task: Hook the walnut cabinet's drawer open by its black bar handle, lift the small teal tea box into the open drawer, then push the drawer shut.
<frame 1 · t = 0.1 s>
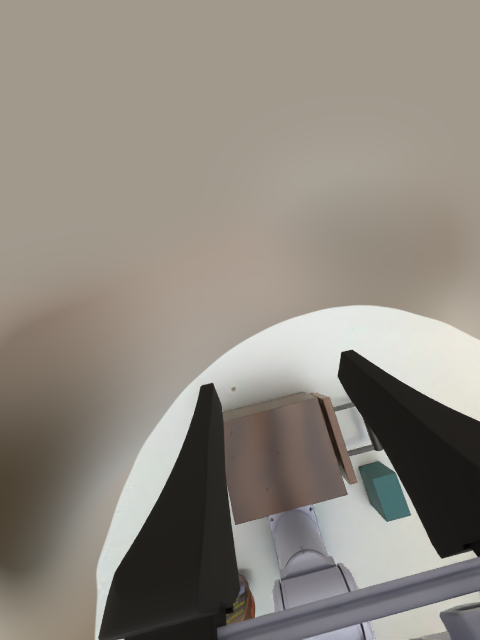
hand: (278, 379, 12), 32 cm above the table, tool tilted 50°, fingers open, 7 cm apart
drawer: (309, 438, 36), point 4 cm above the table, slide at 1.0 cm
tea box: (375, 482, 38), on the table
tin: (213, 599, 35), on the table
cabinet: (271, 439, 40), on the table
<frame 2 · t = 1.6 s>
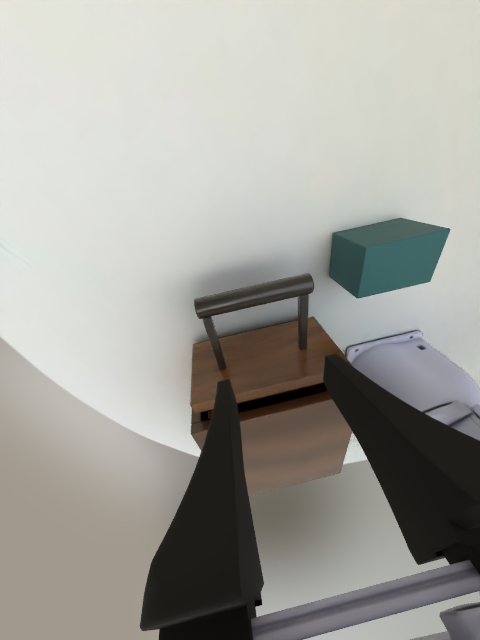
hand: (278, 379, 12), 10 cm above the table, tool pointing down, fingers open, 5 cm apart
drawer: (266, 384, 21), point 4 cm above the table, slide at 1.0 cm
tea box: (363, 248, 19), on the table
cabinet: (262, 387, 28), on the table
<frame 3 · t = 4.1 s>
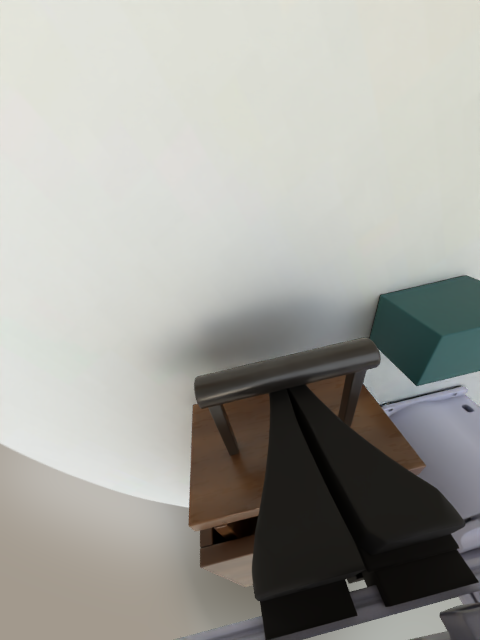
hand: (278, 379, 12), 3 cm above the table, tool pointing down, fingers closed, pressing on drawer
drawer: (289, 458, 16), point 4 cm above the table, slide at 3.0 cm, touching gripper
tea box: (414, 309, 15), on the table
cabinet: (278, 447, 24), on the table
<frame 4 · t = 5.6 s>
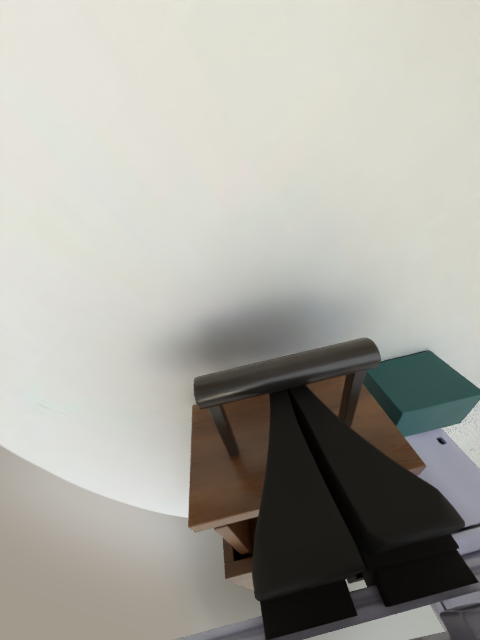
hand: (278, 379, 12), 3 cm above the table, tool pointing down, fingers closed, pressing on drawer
drawer: (289, 458, 16), point 4 cm above the table, slide at 10.0 cm, touching gripper
tea box: (390, 373, 19), on the table
cabinet: (281, 470, 28), on the table
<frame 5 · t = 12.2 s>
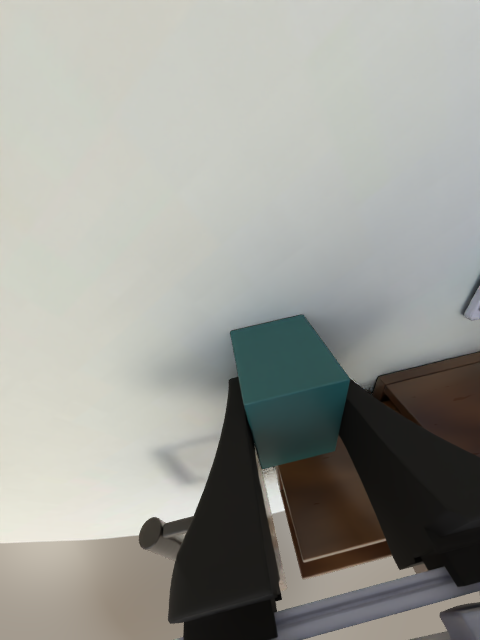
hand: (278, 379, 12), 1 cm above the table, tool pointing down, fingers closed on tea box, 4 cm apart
drawer: (310, 500, 16), point 4 cm above the table, slide at 10.0 cm
tea box: (271, 361, 13), on the table, touching gripper
cabinet: (447, 402, 20), on the table
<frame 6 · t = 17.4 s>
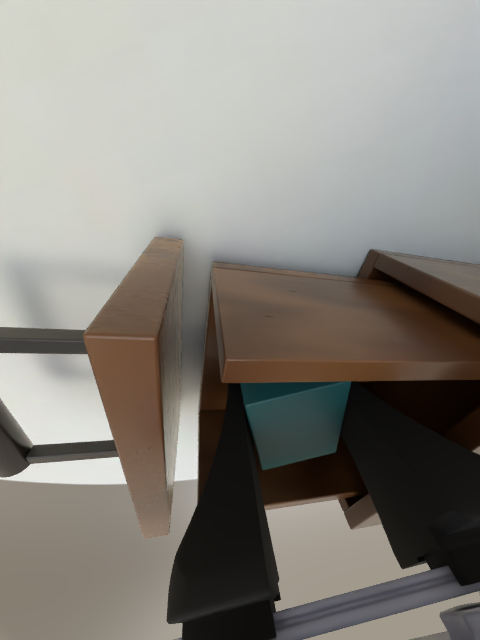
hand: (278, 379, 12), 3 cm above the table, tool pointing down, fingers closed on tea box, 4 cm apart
drawer: (243, 394, 10), point 4 cm above the table, slide at 10.0 cm, touching tea box
tea box: (271, 361, 13), point 2 cm above the table, touching drawer, gripper
cabinet: (414, 345, 17), on the table
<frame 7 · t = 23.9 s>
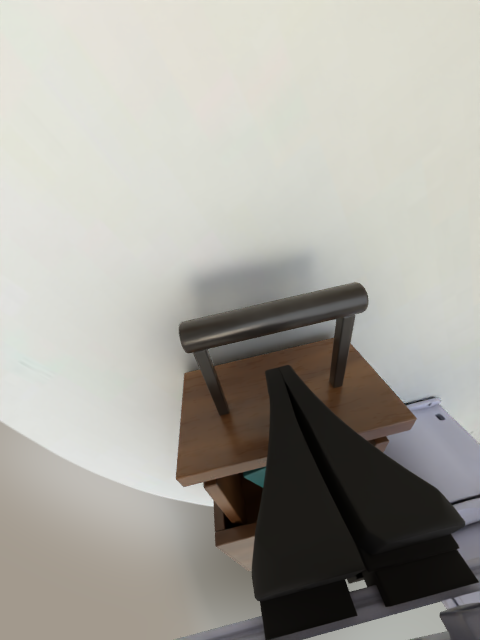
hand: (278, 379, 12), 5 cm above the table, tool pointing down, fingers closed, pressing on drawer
drawer: (281, 426, 16), point 4 cm above the table, slide at 9.3 cm, touching gripper, tea box
cabinet: (277, 450, 28), on the table
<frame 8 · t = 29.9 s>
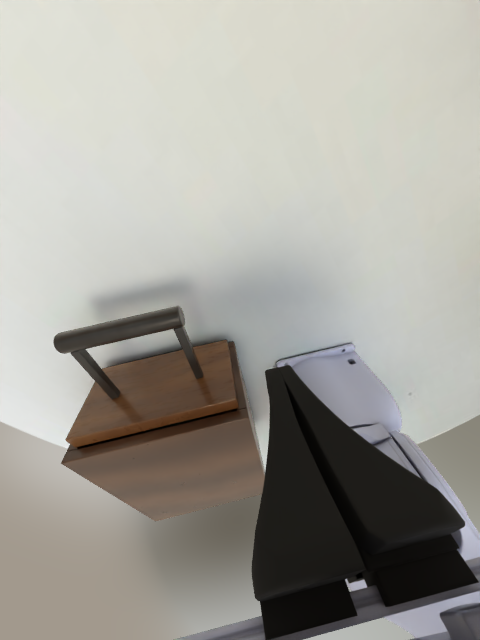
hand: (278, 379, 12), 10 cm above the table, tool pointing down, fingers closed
drawer: (176, 410, 20), point 4 cm above the table, slide at 0.0 cm, touching tea box
cabinet: (193, 401, 27), on the table
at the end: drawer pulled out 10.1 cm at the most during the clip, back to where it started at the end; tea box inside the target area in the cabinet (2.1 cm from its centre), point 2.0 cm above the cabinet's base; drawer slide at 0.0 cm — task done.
